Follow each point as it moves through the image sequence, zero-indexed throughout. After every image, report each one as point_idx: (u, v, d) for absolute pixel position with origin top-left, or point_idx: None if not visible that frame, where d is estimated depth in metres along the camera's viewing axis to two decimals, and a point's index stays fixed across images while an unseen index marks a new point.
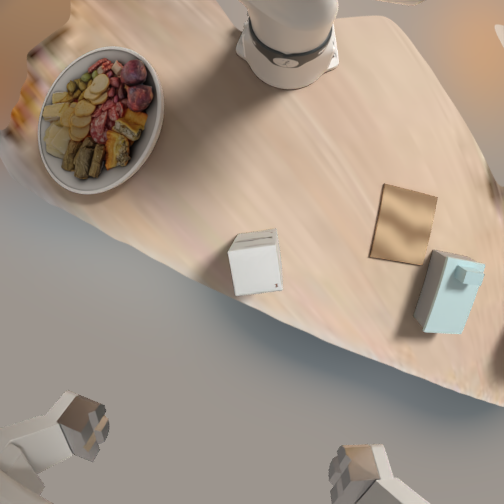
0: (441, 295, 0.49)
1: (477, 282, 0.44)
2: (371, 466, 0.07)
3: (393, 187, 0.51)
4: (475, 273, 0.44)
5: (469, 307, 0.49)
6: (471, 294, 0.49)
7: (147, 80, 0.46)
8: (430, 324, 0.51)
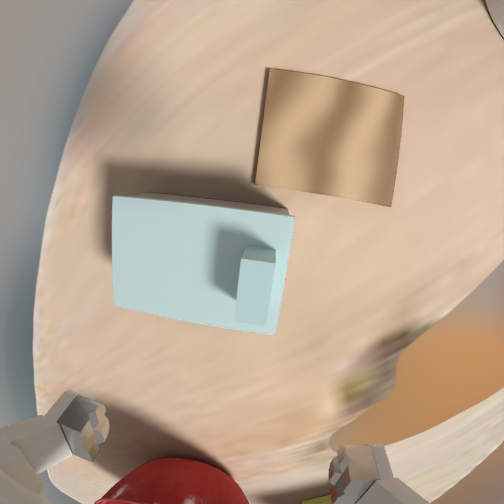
0: (198, 218, 0.24)
1: (243, 308, 0.22)
2: (371, 466, 0.07)
3: (400, 110, 0.26)
4: (267, 295, 0.22)
5: (173, 312, 0.27)
6: (202, 309, 0.26)
7: None
8: (129, 208, 0.24)
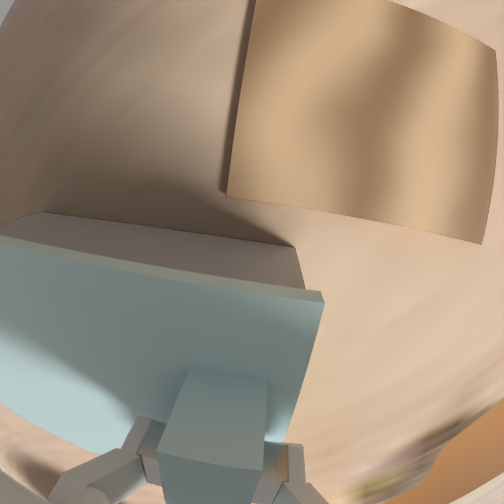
0: (75, 292, 0.08)
1: None
2: (281, 466, 0.07)
3: (493, 72, 0.10)
4: None
5: (78, 441, 0.11)
6: None
7: None
8: None
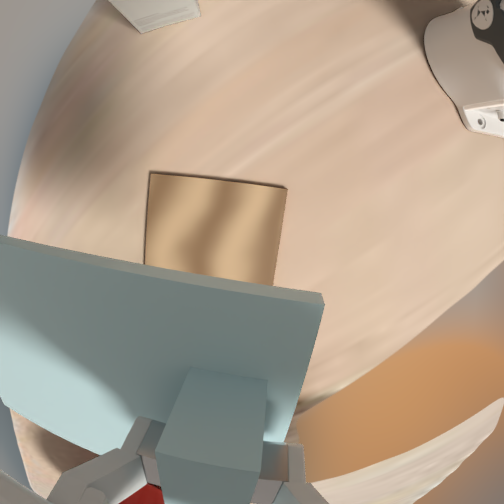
0: (76, 293, 0.09)
1: None
2: (281, 466, 0.07)
3: (281, 206, 0.30)
4: None
5: (79, 440, 0.11)
6: None
7: None
8: None
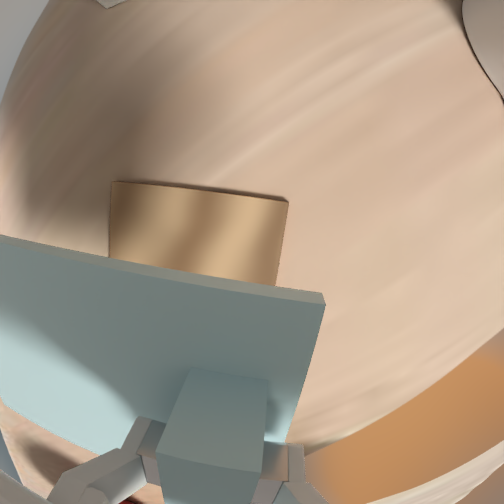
0: (76, 293, 0.08)
1: None
2: (281, 466, 0.07)
3: (280, 226, 0.22)
4: None
5: (79, 440, 0.11)
6: None
7: None
8: None
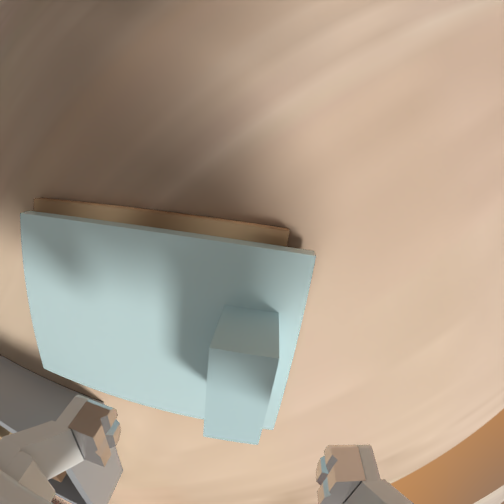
0: (140, 254, 0.13)
1: (218, 421, 0.11)
2: (357, 467, 0.07)
3: None
4: (262, 406, 0.11)
5: (118, 390, 0.15)
6: (159, 392, 0.15)
7: None
8: (41, 232, 0.13)
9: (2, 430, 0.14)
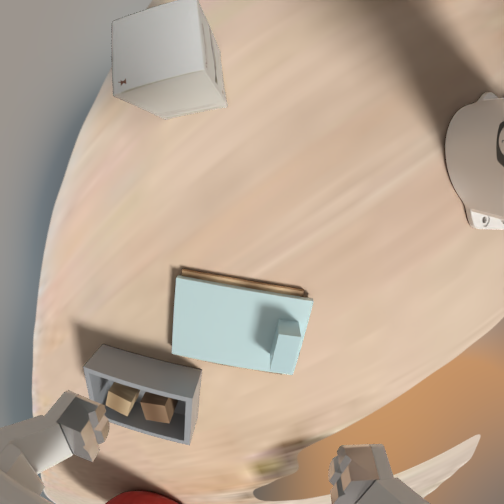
0: (245, 299, 0.34)
1: (277, 363, 0.32)
2: (371, 466, 0.07)
3: None
4: (294, 355, 0.31)
5: (220, 359, 0.36)
6: (242, 358, 0.36)
7: None
8: (190, 287, 0.34)
9: (128, 397, 0.35)
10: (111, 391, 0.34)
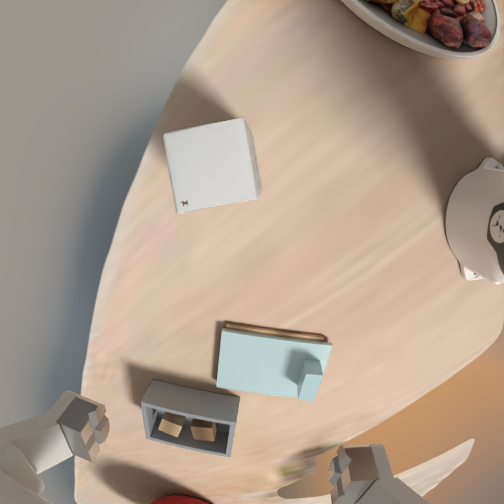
0: (278, 346, 0.41)
1: (303, 394, 0.39)
2: (371, 466, 0.07)
3: None
4: (317, 388, 0.38)
5: (256, 390, 0.43)
6: (275, 388, 0.43)
7: (464, 45, 0.25)
8: (234, 338, 0.41)
9: (179, 422, 0.42)
10: (164, 419, 0.42)
